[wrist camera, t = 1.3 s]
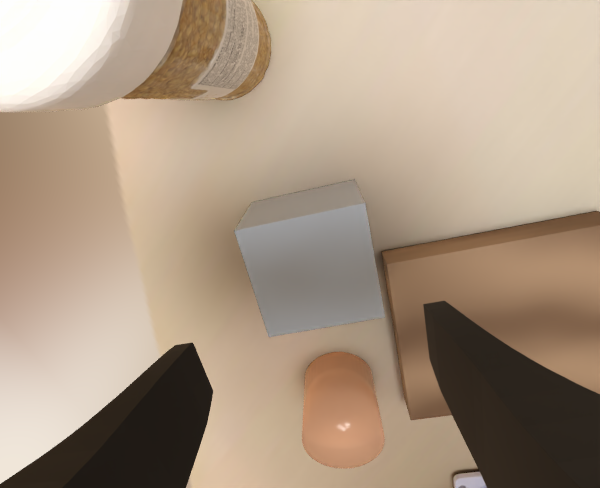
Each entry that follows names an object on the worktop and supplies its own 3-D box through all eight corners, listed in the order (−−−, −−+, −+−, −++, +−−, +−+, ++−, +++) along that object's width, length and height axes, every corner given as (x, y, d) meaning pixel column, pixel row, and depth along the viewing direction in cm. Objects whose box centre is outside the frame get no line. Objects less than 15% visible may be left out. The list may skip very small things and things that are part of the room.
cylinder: (377, 399, 24) (389, 463, 20) (312, 407, 24) (311, 472, 20) (366, 347, 22) (378, 404, 18) (298, 357, 23) (293, 416, 19)
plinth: (583, 376, 22) (601, 396, 21) (405, 399, 24) (410, 420, 22) (597, 211, 18) (622, 221, 17) (381, 251, 20) (386, 264, 18)
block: (371, 272, 20) (385, 317, 16) (278, 289, 21) (268, 337, 17) (354, 178, 18) (365, 202, 14) (252, 201, 19) (234, 230, 15)
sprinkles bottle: (159, 68, 17) (-318, -14, 4) (196, -37, 15) (-408, -706, 2) (247, 119, 17) (65, 179, 5) (292, 23, 16) (192, -261, 3)
